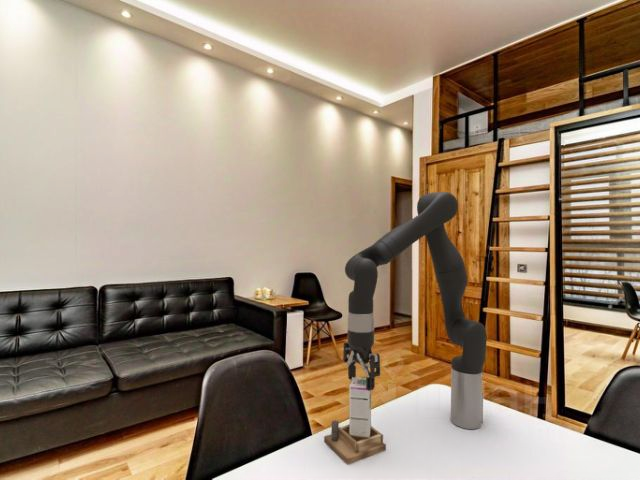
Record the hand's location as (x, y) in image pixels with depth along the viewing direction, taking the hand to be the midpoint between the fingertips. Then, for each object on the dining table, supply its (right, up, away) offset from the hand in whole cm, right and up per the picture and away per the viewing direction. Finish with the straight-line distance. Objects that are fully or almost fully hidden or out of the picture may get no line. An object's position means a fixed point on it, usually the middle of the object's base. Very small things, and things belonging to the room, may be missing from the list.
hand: (360, 384), depth 103 cm
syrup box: (0, -14, 0) cm, 14 cm away
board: (-2, -18, 0) cm, 18 cm away
